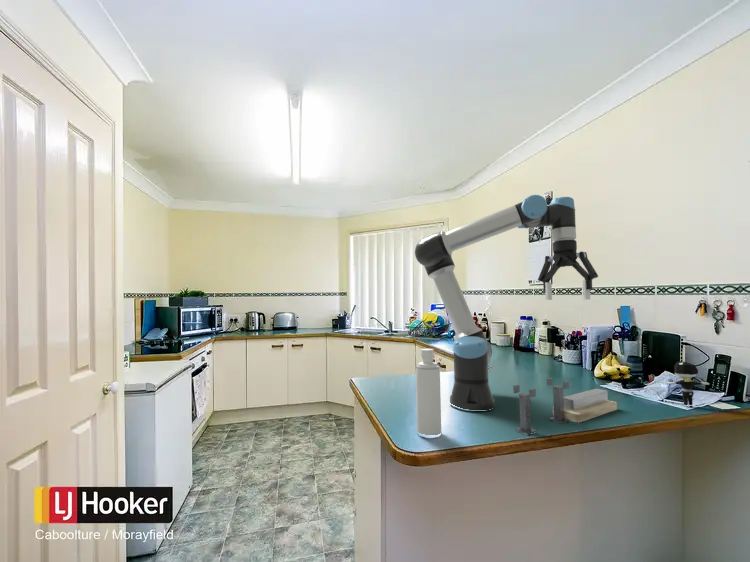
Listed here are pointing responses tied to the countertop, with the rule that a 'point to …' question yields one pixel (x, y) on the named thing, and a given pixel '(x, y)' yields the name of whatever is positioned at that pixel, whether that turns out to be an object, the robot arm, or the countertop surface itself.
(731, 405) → the countertop surface
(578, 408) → the rail
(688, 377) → the toy
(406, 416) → the countertop surface
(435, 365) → the grey bottle
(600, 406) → the board
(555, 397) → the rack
